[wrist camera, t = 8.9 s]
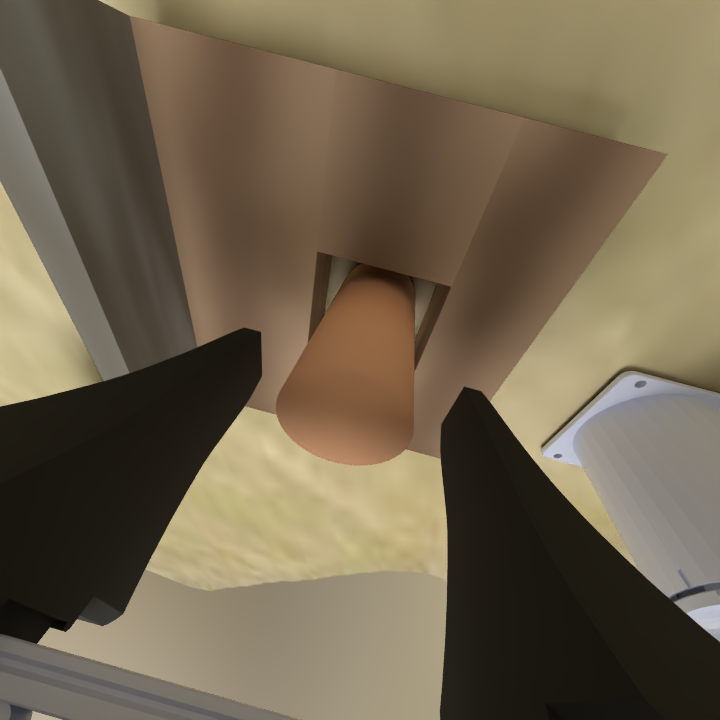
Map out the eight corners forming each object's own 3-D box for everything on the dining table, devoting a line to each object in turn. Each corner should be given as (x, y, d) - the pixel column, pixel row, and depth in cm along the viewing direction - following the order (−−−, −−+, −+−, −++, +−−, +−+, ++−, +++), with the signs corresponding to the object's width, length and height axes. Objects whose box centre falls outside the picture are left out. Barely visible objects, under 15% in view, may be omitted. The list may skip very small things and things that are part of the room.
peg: (427, 275, 14) (439, 399, 7) (398, 338, 16) (385, 478, 9) (352, 249, 14) (283, 347, 7) (334, 316, 16) (270, 442, 9)
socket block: (608, 155, 10) (840, 152, 5) (443, 424, 20) (454, 527, 14) (157, 39, 10) (-146, -101, 5) (212, 362, 20) (134, 440, 14)
